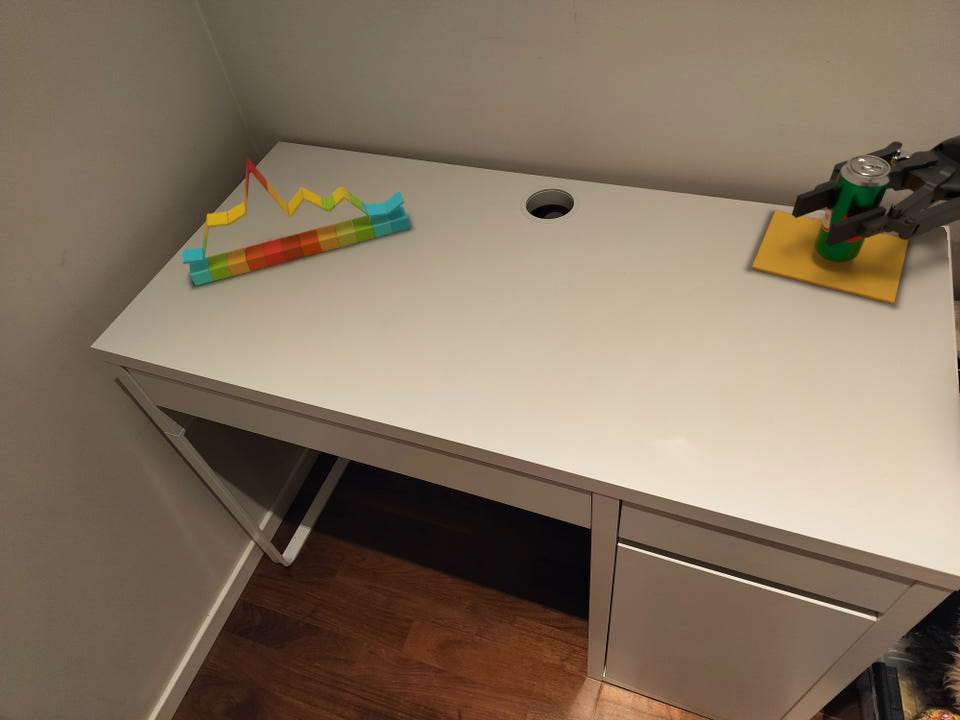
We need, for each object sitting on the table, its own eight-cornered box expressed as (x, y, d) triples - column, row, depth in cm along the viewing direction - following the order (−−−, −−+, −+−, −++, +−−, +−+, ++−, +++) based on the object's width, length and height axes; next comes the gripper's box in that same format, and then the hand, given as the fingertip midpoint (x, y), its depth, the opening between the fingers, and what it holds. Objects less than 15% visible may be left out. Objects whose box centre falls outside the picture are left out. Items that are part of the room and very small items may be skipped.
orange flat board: (907, 241, 84) (908, 239, 84) (893, 304, 78) (894, 302, 77) (774, 212, 90) (775, 210, 90) (751, 268, 84) (752, 266, 83)
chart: (405, 215, 98) (383, 121, 86) (410, 228, 96) (389, 133, 84) (195, 271, 94) (144, 180, 83) (195, 286, 92) (143, 194, 80)
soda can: (820, 232, 84) (851, 148, 75) (863, 245, 82) (900, 159, 73) (806, 256, 82) (836, 171, 73) (850, 270, 79) (887, 184, 70)
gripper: (1029, 229, 77) (860, 294, 73) (908, 152, 88) (756, 204, 84) (1066, 173, 71) (884, 240, 67) (931, 98, 83) (770, 152, 79)
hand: (813, 220), depth 76 cm, fingers closed on soda can, 5 cm apart
